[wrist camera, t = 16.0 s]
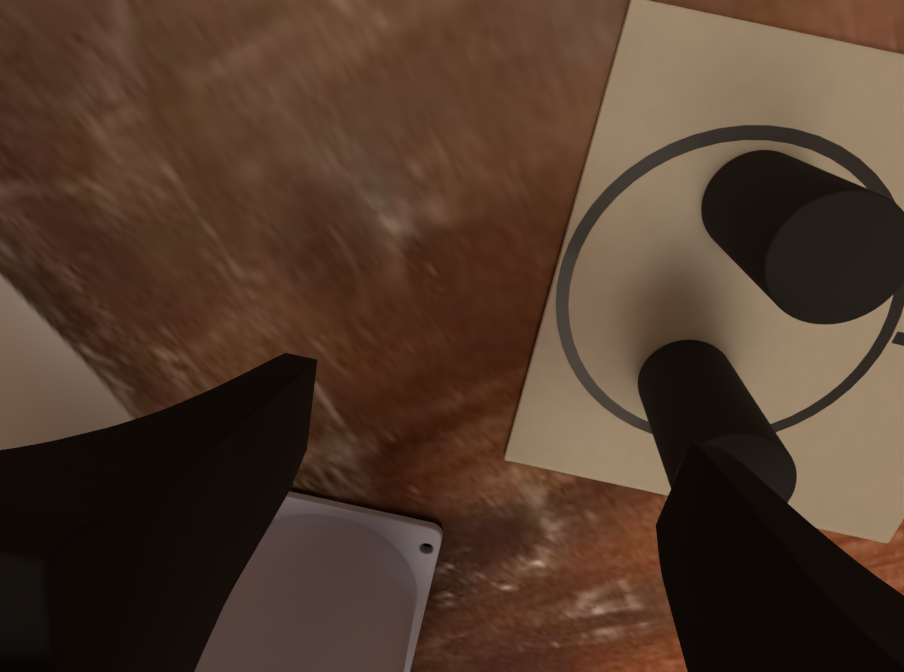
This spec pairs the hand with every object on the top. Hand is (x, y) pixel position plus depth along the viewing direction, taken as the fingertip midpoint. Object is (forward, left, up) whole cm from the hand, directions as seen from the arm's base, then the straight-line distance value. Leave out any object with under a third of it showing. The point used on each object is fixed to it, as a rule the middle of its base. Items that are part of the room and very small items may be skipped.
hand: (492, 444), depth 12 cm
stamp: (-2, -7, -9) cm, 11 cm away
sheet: (+1, -9, -9) cm, 13 cm away
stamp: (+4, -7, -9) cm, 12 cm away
